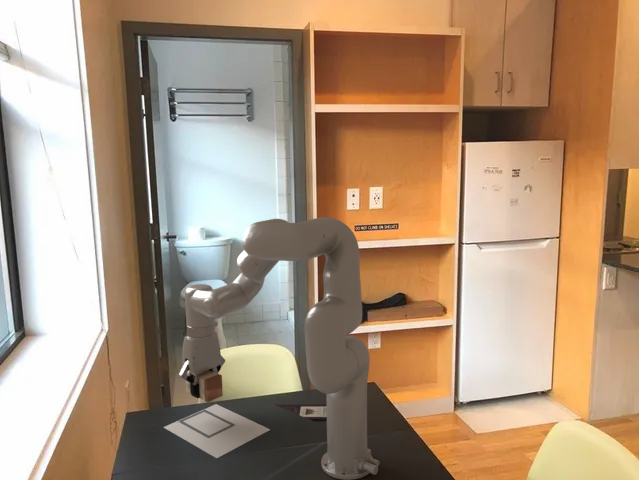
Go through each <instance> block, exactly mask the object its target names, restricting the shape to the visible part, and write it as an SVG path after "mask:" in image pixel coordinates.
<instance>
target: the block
mask: <svg viewBox="0 0 639 480" xmlns="http://www.w3.org/2000/svg"><path fill="white" fill-rule="evenodd" d="M189 372H190V370H189V371H188V372H187V375H188V376H189ZM193 378H194V376H193ZM197 383H198V384H199V391H200V397H199V398H198V399H199V400H201V401H204V402H206V403H209V402H211V401H214V400H216V399H220V398H222V397H223V396H224V394H223V375H222V374H220V373H219V372H218V373H215V372H213V371H210V370H207V371H204V372H201V373H199V377H198V382H197ZM185 392H186V393H188V394H190V395H191V391H190V383H189V382H188V381H186V380H185Z"/></svg>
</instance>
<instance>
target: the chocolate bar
mask: <svg viewBox="0 0 639 480" xmlns="http://www.w3.org/2000/svg"><path fill="white" fill-rule="evenodd" d="M275 406H276V407H278V408H279V407H280V408H282V409H284V410H286V411H289V412H292V413H293V414H295V415H298V416H301V417H302V418H305V419H308V420H310V421H312V422H327V408H326V404H275Z"/></svg>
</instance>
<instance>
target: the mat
mask: <svg viewBox="0 0 639 480" xmlns="http://www.w3.org/2000/svg"><path fill="white" fill-rule="evenodd" d="M163 428H164V429H165V430H167V431H169V432H171V433H173V434H174V435H175V436H177V437H179V438H181V439H183V440H185V441H186V442H188V443H190V444H191V445H193V446H194V447H197V448H198V449H200V450H202V451H203V452H205V453H206V454H207V455H211V456H212V457H214V458H215V459H219V458H221V457H222V456H224V455H226V454H228V453H230V452H232V451H233V450H236V449H237V448H239V447H241V446H243V445H244V444H247V443H248V442H250V441H252V440H254V439H255V438H258V437H260V436H262V435H263V434H266V433H267V432H268V431H271V429H269V428H268V427H266V426H264V425H261V424H259V423H257V422H255V421H253V420H251V419H249V418H247V417H244V416H243V415H240V414H238V413H237V412H236V413H235V412H234V411H232V410H230V409H227V408H225V407H223V406H221V405H219V404H217V403H215V404H213V405H211V406H209V407H207V408H204V409H202V410H200V411H199V410H198V411H197V412H195V413H192V414H191V415H188V416H186V417H183V418H181V419H179V420H177V421H175V422H172V423H170V424H168V425H166V426H163Z"/></svg>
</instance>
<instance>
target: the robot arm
mask: <svg viewBox="0 0 639 480" xmlns="http://www.w3.org/2000/svg"><path fill="white" fill-rule="evenodd" d="M241 240H242V241H241V242H242V248H243V249H242V251H241V252H240V253H239V255H237V256H238V257H237V258H236V265H237V268H238V270H239V271H240V273H239V275H238V276H237V277H236V278H235V279H234V280H233V281H232V282H231V283H229V284H226V285H223V286H220V287H216V288H214V289H213V287H212V286H211V285H209V284H205V283H204V284H202V283H201V284H200V283H198V284H191V285H189V286H187V287H186V288H185V291H184V301H185V302H184V303H185V320H186V336H184V339H183V343H182V351H181V352H182V353H181V354H182V355H181V357H182V358H181V363H182V364H181V366H182V367H181V369H180V372H179V374H178V377H179V378H182V379H183V380H185V382H186V381H188V382H189V383H190V391H191V394H190V395H191V396H192V397H194V398H196V399H200V398H199V397H200V391H199V384H198V383H197V382H198V377H199V373H201V372H204V371H207V370H210V371H213V372H215V373H218V374H219V372H220V371H221V370H222V367H223V365H224V364H225V363H226V359H225V358H224V357H223V356H222V354H221V344H220V340H219V336H218V332H217V331H216V327H218V324H219V323H218V322H217V321H216V320H217V319H218V320H219V319H222V318H224V317H226V316H229V315H230V314H232V313H235V312H237V311H240V310H242V309H243V308H246V306H248V305H249V303H251V302H252V301H253V299H255V297H256V296H257V295H258V294H259V292H260V291H261V290H262V288H263V286H264V283H265V278H266V276H267V275H268V274H269V273H270V272H271V271H272V270H273V268H275V266H276V265H277V264H278V263H279V262H302V261H304V262H305V261H309V260H312V259H314V258H317V257H321V256H323V255H324V257H325V263H324V268H323V273H322V281H323V298H322V299H321V300H320V301H318V302H316V303H314V305H313V306H311V307H310V309H309V310H308V311H307V314H306V316H305V321H304V342H305V343H304V344H305V345H304V346H305V355H306V356H305V359H306V360H305V361H306V370H307V371H306V372H307V375H308V378H309V380H310V382H311V384H312V386H313V387H314V388H315V389H316V390H317V391H318V392H320V393H322V394H324V395H326V397H325V398H326V404H325V405H326V408H327V421H326V440H327V441H326V444H327V445H326V446H327V447H326V448H327V451H326V452H325V453H324V454H323V455H322V457H321V461H320V464H321V469H322V470H323V472H325V474H327V475H328V476H330V477H332V478H335V479H338V480H357V479H358V480H359V479H362V478H364V477H366V476H368V475H369V474H372V475H374V476H375V475H377V473H378V471H379V466H380V464H381V463H380V460H378V459H376V458H374V457H373V456H372V449H370V448H368V415H367V414H368V409H367V408H368V407H367V406H368V401H367V400H368V398H367V397H368V380H369V379H368V378H369V372H370V361H371V359H370V352H369V350H368V347H367V345H366V343H365V342H364V341H363V340H362V339H360V338H358V337H357V336H356V335H350V334H351V333H353V332H354V331H356V329H358V328H359V327H360V325H361V324H362V321H363V302H362V301H363V300H362V283H361V270H360V269H361V268H360V267H361V266H360V264H361V263H360V260H361V259H360V256H361V255H360V248H359V243H358V242H359V241H358V240H357V237H356V235H355V233H354V232H353V230H352V229H351V228H350V227H349V226H348V225H347V224H346V223H344V221H341V220H339V219H337V218H333V217H326V216H324V217H315V218H312V219H308V220H303V221H299V222H289V221H287V220H285V219H283V218H270V219H266V220H260V221H256V222H253V223H251V224H250V225H249V226H248V227H247V228H246V229H245V230H244V233H243V235H242V239H241ZM189 370H190V372H189V376H188V375H187V372H188V371H189ZM193 376H194V378H193Z"/></svg>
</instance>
